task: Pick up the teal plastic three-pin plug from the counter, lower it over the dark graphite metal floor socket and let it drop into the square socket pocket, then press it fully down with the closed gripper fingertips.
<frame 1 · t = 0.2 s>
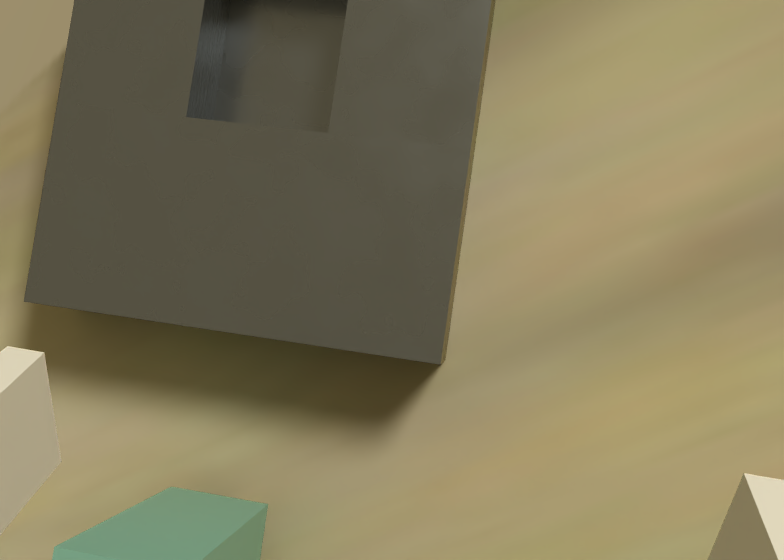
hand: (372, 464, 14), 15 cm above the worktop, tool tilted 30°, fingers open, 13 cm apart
socket: (293, 72, 31), on the worktop
plug: (220, 550, 30), on the worktop
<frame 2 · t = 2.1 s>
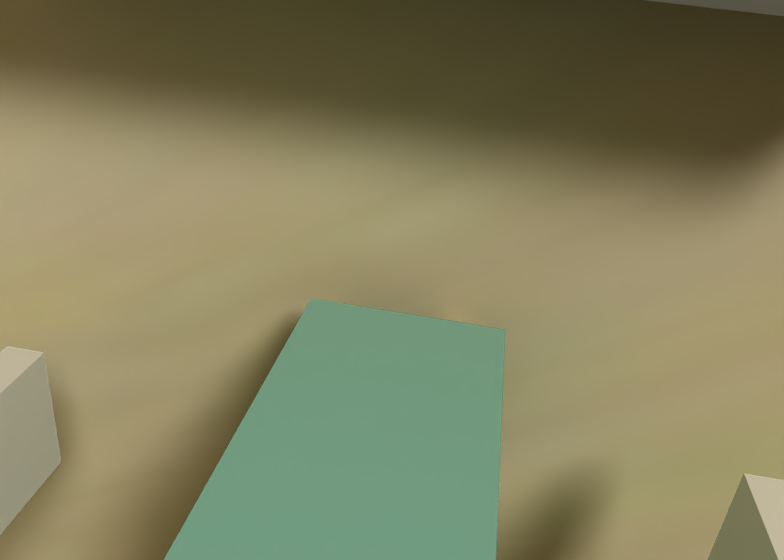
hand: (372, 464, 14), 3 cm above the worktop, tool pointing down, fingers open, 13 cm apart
plug: (403, 382, 17), on the worktop
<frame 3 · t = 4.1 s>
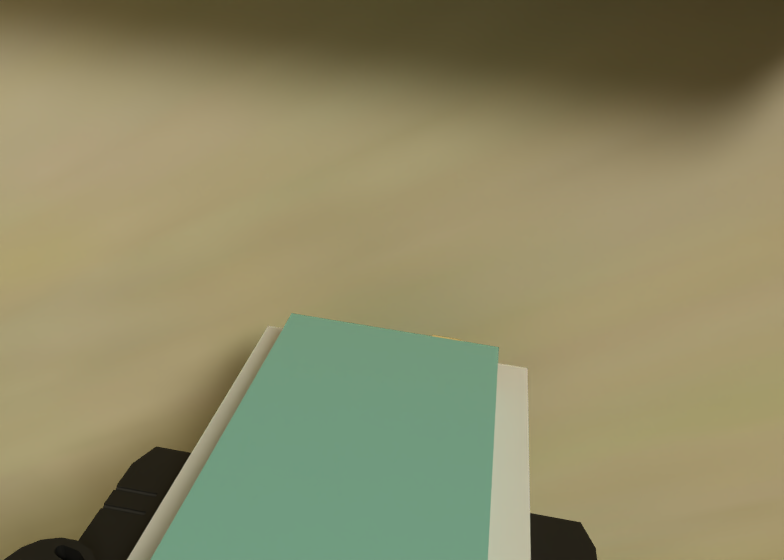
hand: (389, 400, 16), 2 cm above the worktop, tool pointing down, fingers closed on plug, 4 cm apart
plug: (391, 398, 16), point 2 cm above the worktop, touching gripper
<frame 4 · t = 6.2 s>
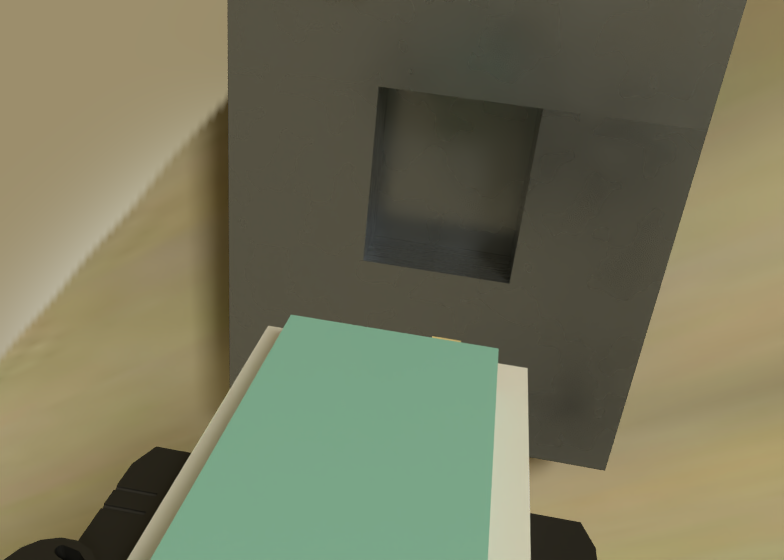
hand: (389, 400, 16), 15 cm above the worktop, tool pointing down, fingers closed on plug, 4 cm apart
socket: (455, 160, 29), on the worktop
plug: (391, 400, 16), point 15 cm above the worktop, touching gripper
when the fingers open (4 cm above the worktop, at t = 8.6 s): plug drops 2 cm, resting on socket.
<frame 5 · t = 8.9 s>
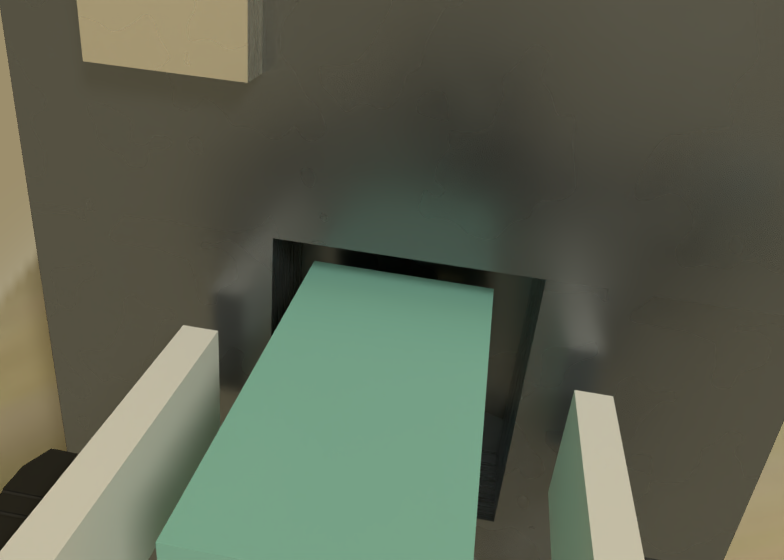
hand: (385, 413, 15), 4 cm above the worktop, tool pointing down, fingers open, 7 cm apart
socket: (412, 313, 19), on the worktop
plug: (400, 339, 18), point 1 cm above the worktop, touching socket
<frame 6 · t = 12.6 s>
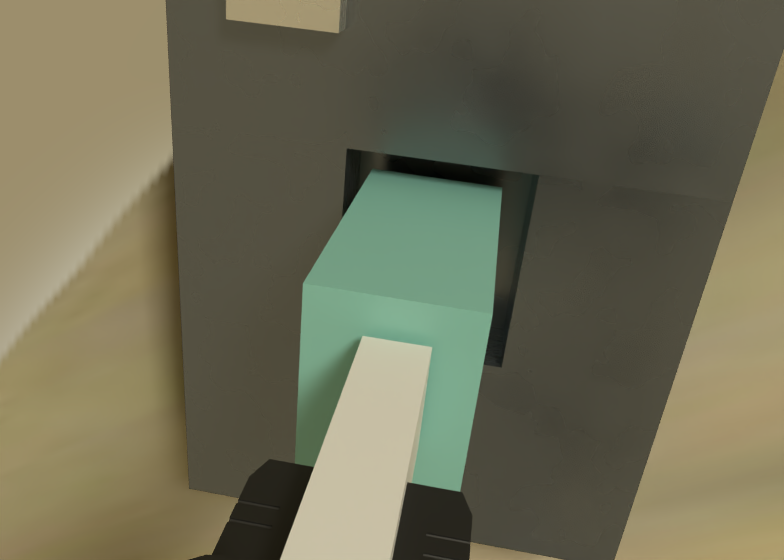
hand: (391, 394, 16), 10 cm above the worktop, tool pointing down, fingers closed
socket: (439, 221, 25), on the worktop
plug: (431, 237, 24), point 1 cm above the worktop, touching gripper, socket
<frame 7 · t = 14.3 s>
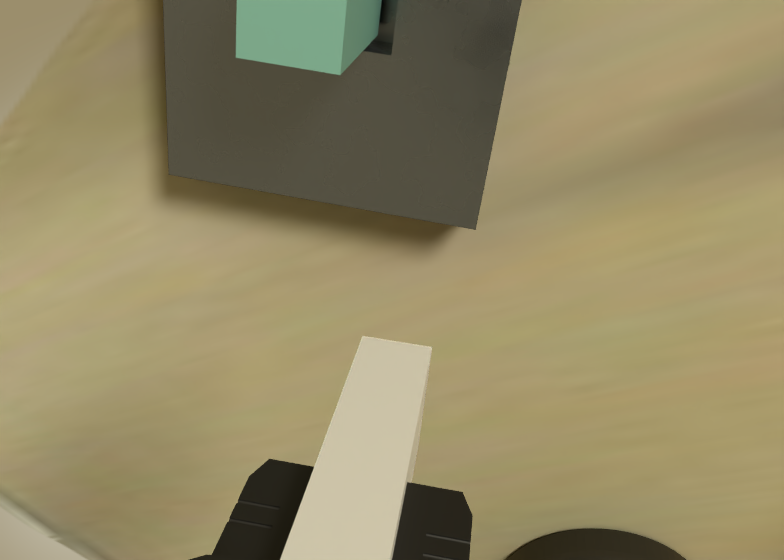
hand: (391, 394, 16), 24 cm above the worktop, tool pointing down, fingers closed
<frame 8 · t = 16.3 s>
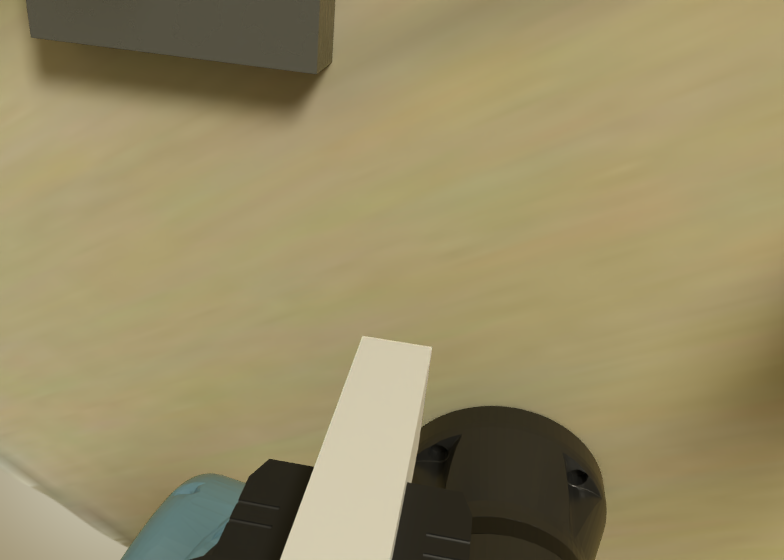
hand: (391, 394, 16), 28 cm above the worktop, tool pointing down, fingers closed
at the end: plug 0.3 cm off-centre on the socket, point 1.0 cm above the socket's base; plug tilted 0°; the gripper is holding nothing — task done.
